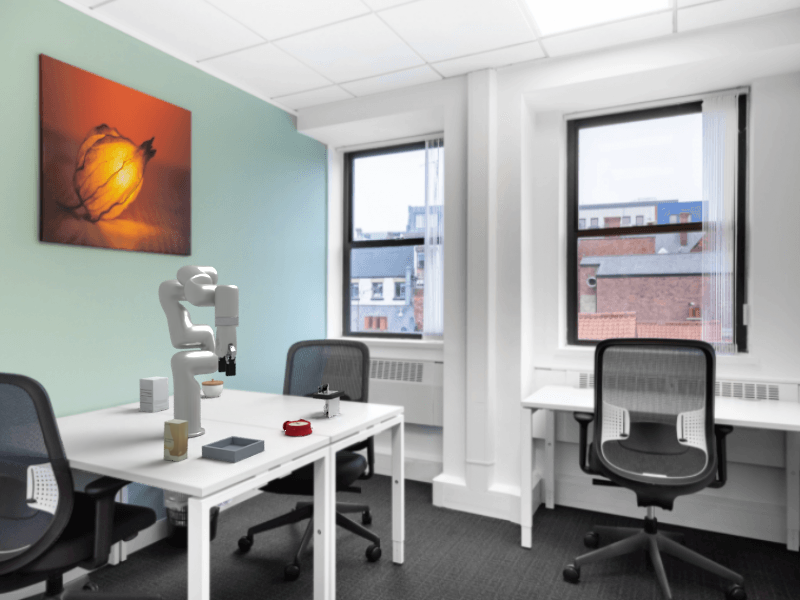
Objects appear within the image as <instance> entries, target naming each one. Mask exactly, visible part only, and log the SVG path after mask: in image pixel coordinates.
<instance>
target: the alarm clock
mask: <svg viewBox="0 0 800 600" xmlns="http://www.w3.org/2000/svg"><path fill="white" fill-rule="evenodd" d="M311 425H312V423H311V421H309V420H305V419H304V418H302V419H301V418H299V419H298V420H292V421H291V420H285V421H284V422H283V423H282V430H283V431H284V435H285V436H288V437H289V436H290V437H302V436H303V437H305V436H308V434H309V435H311V434H312V433H313V429H314V428H313V427H312V426H311ZM285 430H286V431H285Z"/></svg>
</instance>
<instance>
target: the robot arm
mask: <svg viewBox="0 0 800 600" xmlns="http://www.w3.org/2000/svg"><path fill="white" fill-rule="evenodd" d="M175 276H176V279H175V278H173V279H167V280H163V281H162V282H161V283H160V284H159V286H158V293H157V294H158V300H159V304H160V306H161V308H162V310H163V313H164V314H165V317H166V321H167V322H166V323H167V327H168V333H169V338H170V342H171V345H172V347H173V348H175V349H177V350H181V351H178V352H176V353H173V354H172V356H171V358H170V368H171V373H172V382H173V385H172V386H173V419H177V420H185V421H188V438H193V437H194V438H195V437H199V436H202V435H204V434H205V433H206V429H205V428H204V427H201V426H202V423H201V420H202V419H201V416H202V415H201V413H202V410H201V409H202V405H201V404H202V403H201V402H202V401H201V397H202V394H201V393H202V391H201V389H202V387H201V385H200V383H199V381H197V380H196V378H195V377H196V376H198V375H208V374H214V373H216V372H218V373H225V376H226V377H235V376H237V360H236V358H237V357H236V356H237V353H238V341H237V328H238V327H239V324H240V322H239V320H240V319H239V318H240V317H239V313H240V311H239V309H240V308H239V306H240V305H239V303H240V302H239V301H240V300H239V295H240V293H239V291H240V289H239V288H238V286H237V285H234V284H217V283H218V281H219V274H218V271H217V269H216V268H214V267H213V266H211V265H199V264H198V265H197V264H194V265H192V264H188V265H183V266H181V267H180V268H179V269H178V270H177V271H176V275H175ZM181 302H188V303H189V304H190V305H192V306H195V307H201V308H203V307H204V308H207V307H214V328H216V332H214V330H213V328H212V327H211V325H209V324H207V323H193V322H192V317H191V313H190V311H189V310H188V309H187V308H186V307H185V306H184V305H183V304H182V303H181ZM189 349H190V350H189ZM191 349H192V350H191Z"/></svg>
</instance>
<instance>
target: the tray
mask: <svg viewBox="0 0 800 600" xmlns="http://www.w3.org/2000/svg"><path fill="white" fill-rule="evenodd" d="M264 451H265V439H262V440H261V439H257V438H249V437H242V436H236V435H235V436H234V435H231V436H228V437H225V438H222V439H219V440H217V441H214V442H211V443H207V444H205V445H202V446H201V458H205V457H207V458H206V459H211V458H213V459H212V460H217V459H218V460H217V461H223V462H224V461H225V462H229V463H238V462H240V461H242V460H245V459H248V458H251V457H252V456H255V455H258V454H260V453H262V452H264Z"/></svg>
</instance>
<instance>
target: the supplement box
mask: <svg viewBox="0 0 800 600" xmlns="http://www.w3.org/2000/svg"><path fill="white" fill-rule="evenodd" d="M169 388H170V387H169V377H168V376H158V375H156V376H149V377H143V378H139V412H143V411H146V412H145V413H152V412H154V413H158V412H161V410H162V411H166V410H169V409H170V407H169V406H170V402H169V401H170V400H169V399H170V395H169V394H170V393H169V392H170V390H169ZM165 409H166V410H165ZM157 411H158V412H157Z"/></svg>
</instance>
